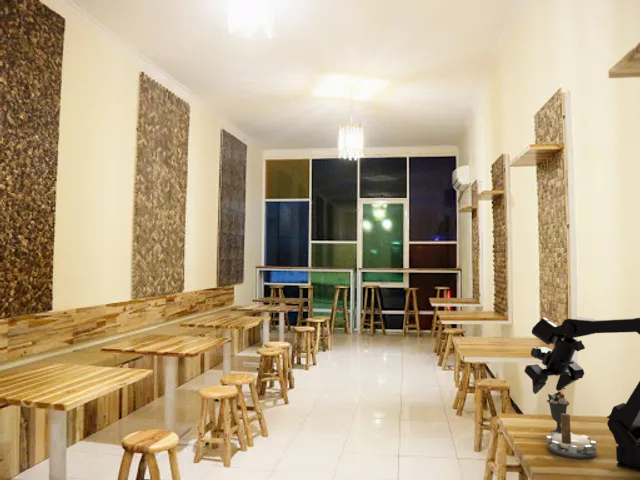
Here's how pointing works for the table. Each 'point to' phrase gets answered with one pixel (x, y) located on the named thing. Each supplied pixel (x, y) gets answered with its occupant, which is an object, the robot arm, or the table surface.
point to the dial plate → (574, 456)
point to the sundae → (557, 408)
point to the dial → (569, 435)
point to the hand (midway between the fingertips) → (545, 391)
